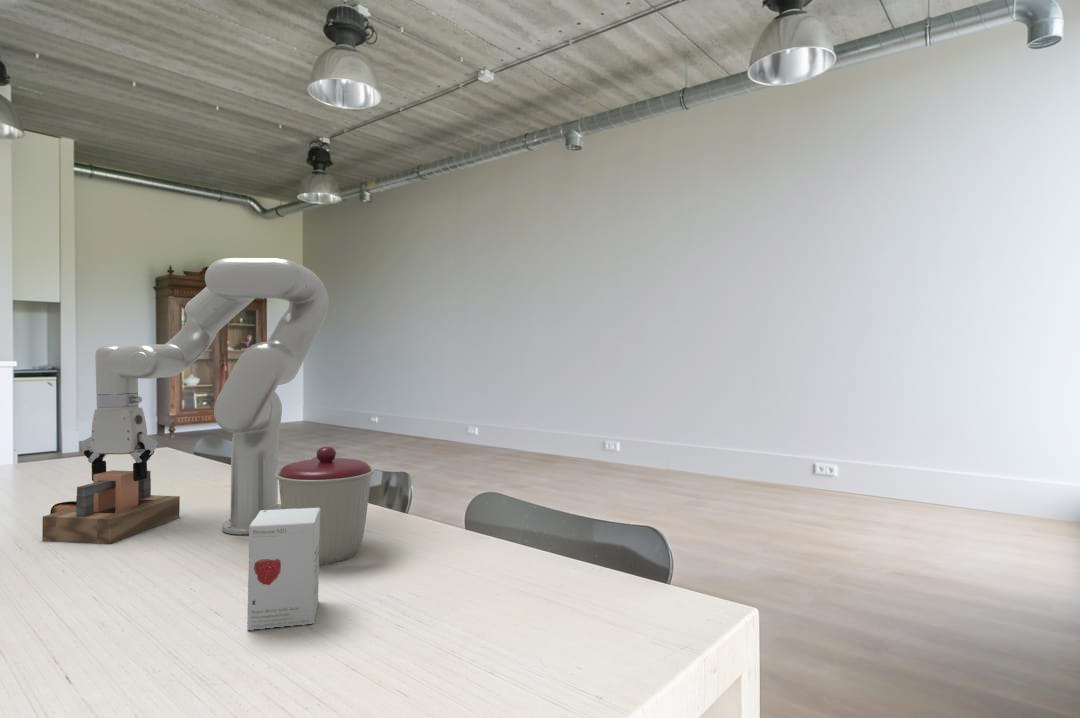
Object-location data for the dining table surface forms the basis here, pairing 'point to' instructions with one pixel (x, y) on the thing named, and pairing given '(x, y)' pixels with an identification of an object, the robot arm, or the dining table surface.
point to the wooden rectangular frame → (109, 516)
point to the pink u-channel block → (116, 491)
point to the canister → (330, 499)
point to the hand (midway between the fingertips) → (119, 479)
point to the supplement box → (283, 568)
